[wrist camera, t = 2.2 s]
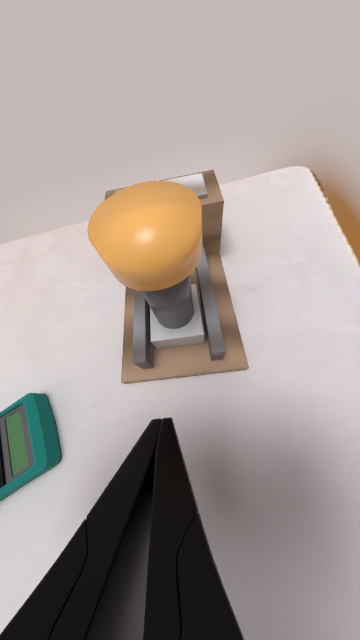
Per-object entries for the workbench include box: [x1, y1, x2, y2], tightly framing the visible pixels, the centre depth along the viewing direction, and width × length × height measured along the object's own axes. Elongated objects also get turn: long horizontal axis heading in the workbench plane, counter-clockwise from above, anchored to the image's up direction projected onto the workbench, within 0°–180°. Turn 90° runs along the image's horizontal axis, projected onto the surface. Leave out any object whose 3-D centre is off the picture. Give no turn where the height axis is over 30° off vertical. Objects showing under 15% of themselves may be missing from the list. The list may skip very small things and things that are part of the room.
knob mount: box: [105, 170, 249, 384], centre depth 20 cm, size 21×13×8 cm, turn 6°
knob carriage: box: [88, 181, 204, 349], centre depth 15 cm, size 6×6×13 cm
